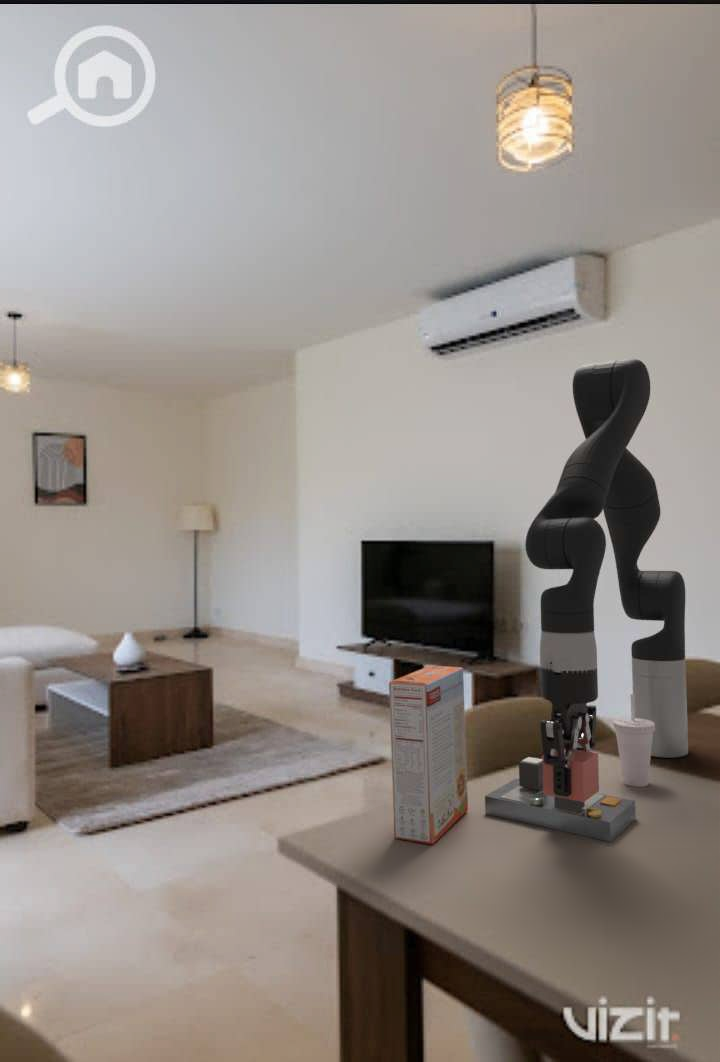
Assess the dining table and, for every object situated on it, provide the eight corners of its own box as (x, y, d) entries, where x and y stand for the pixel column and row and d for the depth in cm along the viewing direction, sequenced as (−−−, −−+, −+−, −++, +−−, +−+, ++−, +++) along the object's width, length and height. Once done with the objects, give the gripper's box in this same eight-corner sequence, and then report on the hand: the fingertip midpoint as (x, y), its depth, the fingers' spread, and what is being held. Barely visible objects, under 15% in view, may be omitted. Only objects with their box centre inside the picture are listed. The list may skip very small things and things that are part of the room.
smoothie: (650, 777, 122) (648, 691, 122) (662, 789, 115) (659, 699, 116) (610, 776, 122) (608, 691, 123) (619, 789, 116) (617, 699, 116)
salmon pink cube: (559, 783, 105) (558, 747, 105) (599, 790, 101) (598, 753, 102) (543, 794, 100) (542, 756, 101) (583, 802, 97) (582, 762, 97)
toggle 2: (563, 802, 102) (562, 775, 102) (584, 806, 100) (583, 778, 101) (554, 808, 100) (553, 780, 100) (576, 812, 98) (575, 784, 98)
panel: (516, 794, 114) (515, 773, 114) (635, 818, 103) (634, 794, 103) (485, 813, 106) (484, 790, 106) (610, 841, 95) (610, 815, 95)
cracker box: (430, 806, 110) (427, 664, 111) (469, 811, 107) (466, 666, 108) (389, 839, 98) (386, 679, 98) (432, 846, 95) (429, 682, 95)
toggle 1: (528, 780, 112) (527, 756, 112) (547, 784, 110) (546, 759, 110) (519, 786, 110) (518, 760, 110) (538, 789, 108) (537, 764, 108)
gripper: (562, 656, 109) (565, 771, 109) (519, 669, 98) (522, 798, 97) (613, 659, 105) (617, 780, 104) (574, 673, 93) (578, 809, 93)
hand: (571, 788), depth 101 cm, fingers closed on salmon pink cube, 5 cm apart
